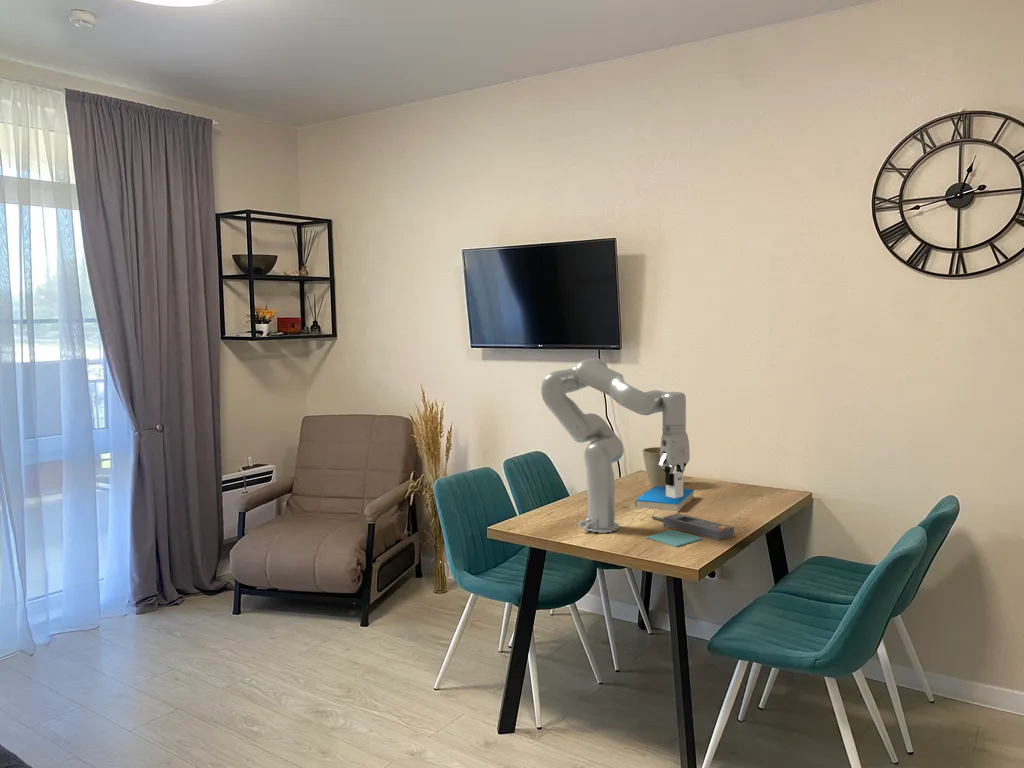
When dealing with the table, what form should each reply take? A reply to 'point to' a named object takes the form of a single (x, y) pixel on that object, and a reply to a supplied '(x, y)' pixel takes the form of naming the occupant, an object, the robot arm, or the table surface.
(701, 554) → the table surface
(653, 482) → the plant pot
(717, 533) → the power strip
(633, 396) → the robot arm
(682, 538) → the mat
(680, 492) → the charger plug
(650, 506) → the book
